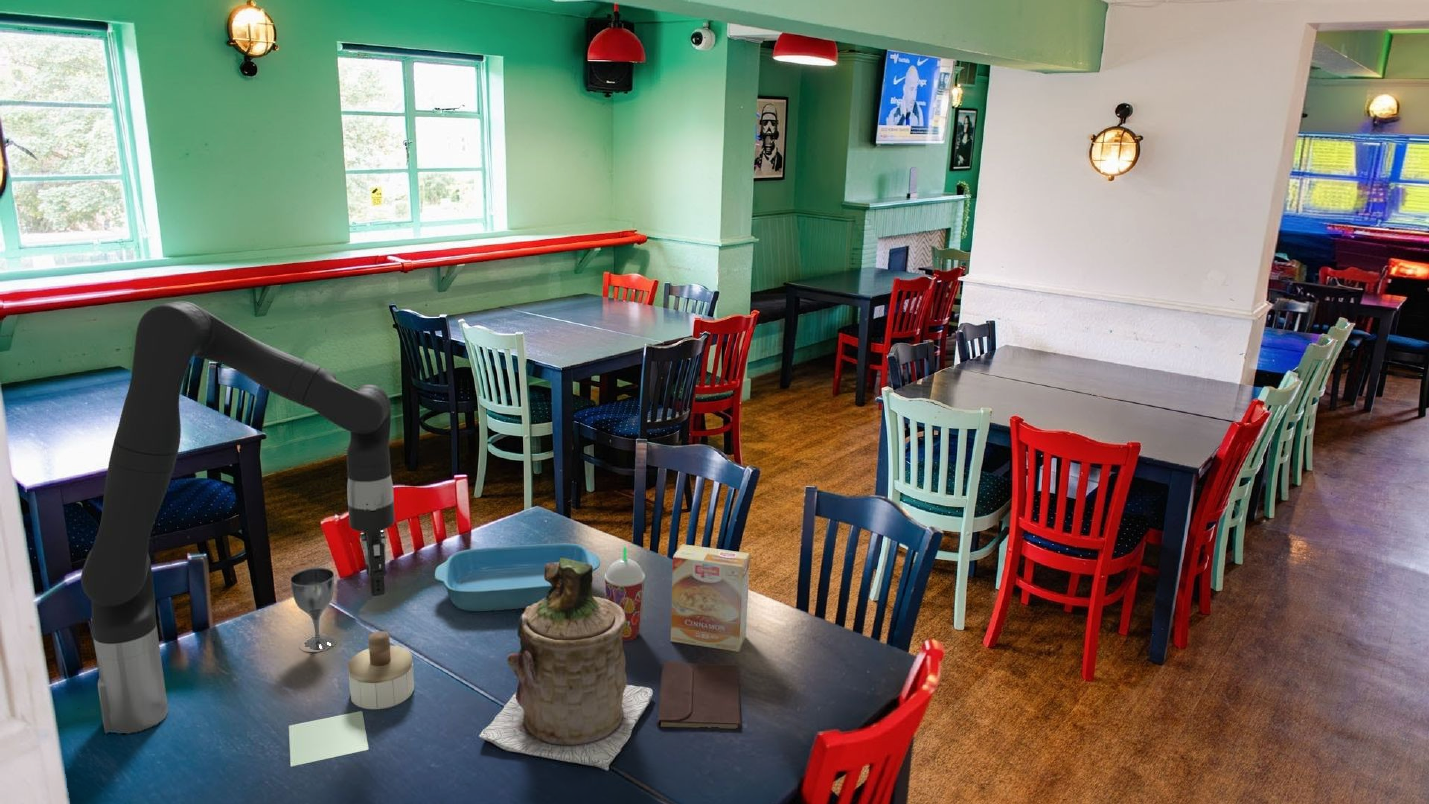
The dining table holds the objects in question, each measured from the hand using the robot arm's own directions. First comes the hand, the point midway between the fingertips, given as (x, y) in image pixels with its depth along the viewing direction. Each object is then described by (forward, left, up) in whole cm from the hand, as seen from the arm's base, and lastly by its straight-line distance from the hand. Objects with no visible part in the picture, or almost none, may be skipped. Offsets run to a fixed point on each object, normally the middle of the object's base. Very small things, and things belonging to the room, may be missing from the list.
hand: (375, 584), depth 169 cm
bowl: (0, 0, -23) cm, 23 cm away
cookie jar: (+30, -20, -23) cm, 43 cm away
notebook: (+55, -22, -23) cm, 63 cm away
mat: (-10, -11, -23) cm, 27 cm away
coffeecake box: (+65, -3, -23) cm, 69 cm away
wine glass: (-10, +24, -23) cm, 35 cm away
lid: (0, 0, -17) cm, 17 cm away
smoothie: (+49, +5, -23) cm, 54 cm away
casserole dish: (+33, +33, -23) cm, 52 cm away
